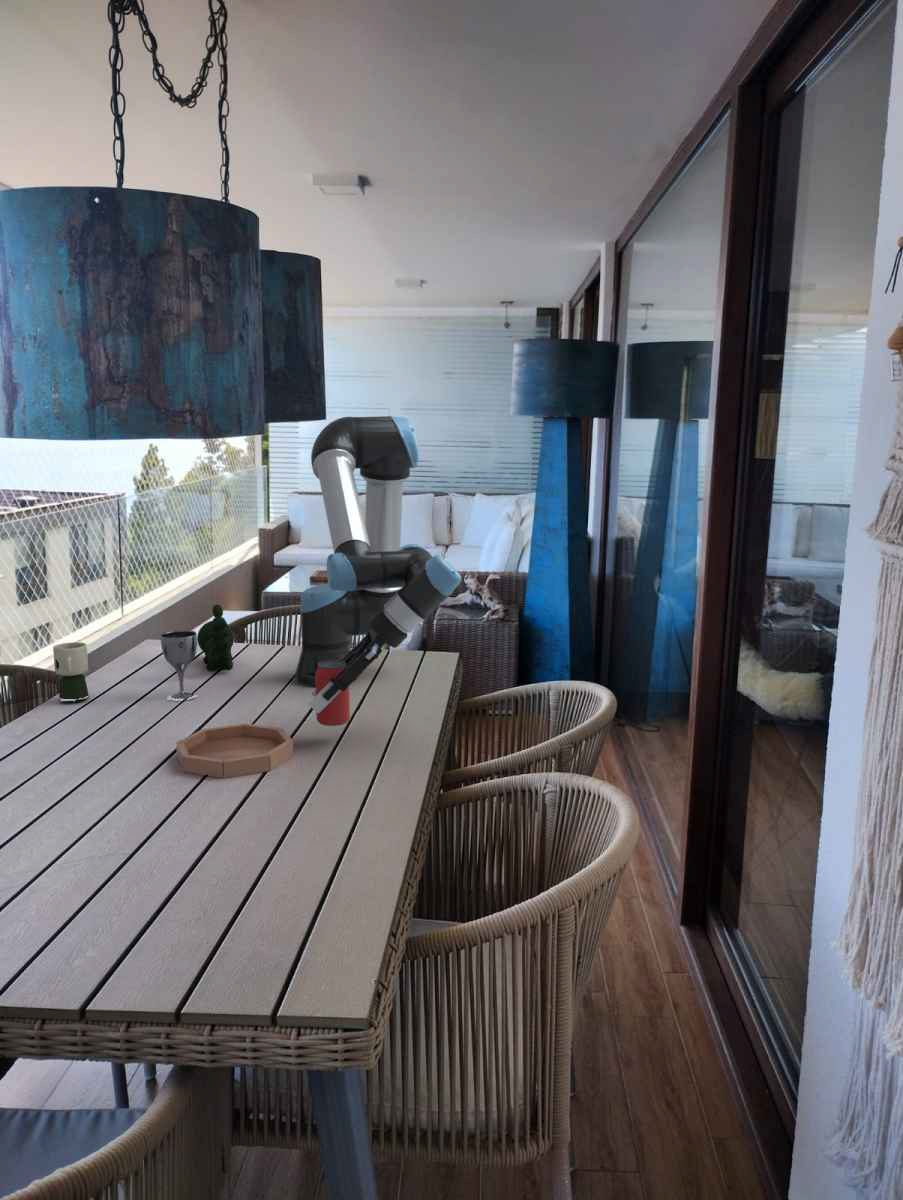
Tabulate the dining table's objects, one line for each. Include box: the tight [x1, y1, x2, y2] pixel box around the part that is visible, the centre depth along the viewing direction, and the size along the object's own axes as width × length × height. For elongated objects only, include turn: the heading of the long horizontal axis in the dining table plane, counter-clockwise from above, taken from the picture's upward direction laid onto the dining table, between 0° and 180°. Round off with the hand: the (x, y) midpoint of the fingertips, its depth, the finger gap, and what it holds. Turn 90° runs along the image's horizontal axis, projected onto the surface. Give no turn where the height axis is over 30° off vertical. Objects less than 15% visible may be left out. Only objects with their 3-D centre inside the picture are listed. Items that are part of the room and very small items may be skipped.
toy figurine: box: [197, 603, 235, 672], centre depth 246 cm, size 9×19×25 cm
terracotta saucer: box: [175, 723, 294, 779], centre depth 181 cm, size 20×20×3 cm
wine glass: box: [160, 629, 198, 699], centre depth 219 cm, size 8×8×15 cm
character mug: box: [52, 641, 89, 699], centre depth 216 cm, size 11×7×13 cm, turn 15°
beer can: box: [315, 660, 351, 727], centre depth 189 cm, size 7×7×12 cm
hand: (314, 702), depth 189 cm, fingers closed on beer can, 6 cm apart
